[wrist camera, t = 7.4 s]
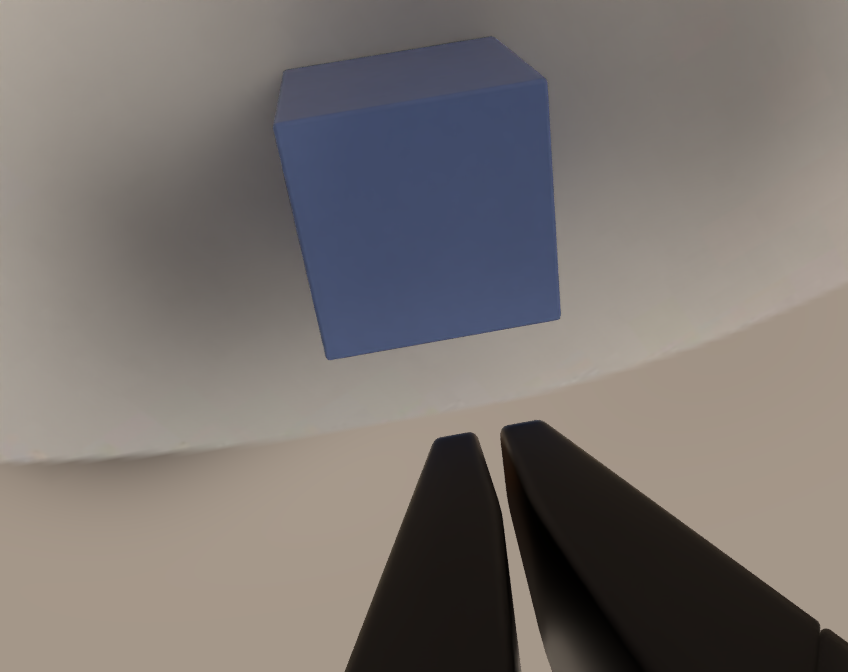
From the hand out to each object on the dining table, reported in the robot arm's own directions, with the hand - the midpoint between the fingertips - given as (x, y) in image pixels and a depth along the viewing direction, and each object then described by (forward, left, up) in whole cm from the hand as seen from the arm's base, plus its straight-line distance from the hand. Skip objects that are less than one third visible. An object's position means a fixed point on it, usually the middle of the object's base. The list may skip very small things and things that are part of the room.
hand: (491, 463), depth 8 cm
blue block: (0, 0, -11) cm, 11 cm away
